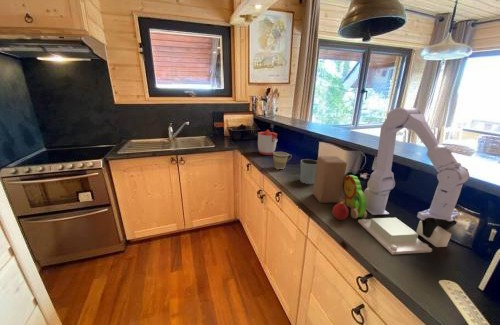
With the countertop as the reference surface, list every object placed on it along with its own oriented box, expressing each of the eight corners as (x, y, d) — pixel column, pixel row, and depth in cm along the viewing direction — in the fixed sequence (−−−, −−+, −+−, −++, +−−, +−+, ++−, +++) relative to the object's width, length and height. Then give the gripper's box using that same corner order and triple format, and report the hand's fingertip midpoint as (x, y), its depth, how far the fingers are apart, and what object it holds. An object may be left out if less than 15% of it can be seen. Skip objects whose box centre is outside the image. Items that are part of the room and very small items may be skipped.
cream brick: (415, 232, 79) (419, 220, 77) (425, 231, 79) (429, 220, 78) (436, 247, 71) (440, 234, 70) (446, 246, 72) (451, 234, 70)
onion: (342, 215, 88) (346, 198, 85) (349, 223, 82) (353, 205, 80) (329, 215, 88) (332, 198, 85) (334, 223, 82) (338, 205, 80)
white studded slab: (358, 221, 84) (360, 212, 83) (390, 220, 86) (392, 211, 84) (392, 254, 67) (395, 244, 66) (431, 251, 69) (435, 241, 68)
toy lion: (366, 220, 86) (375, 185, 81) (354, 220, 85) (361, 185, 80) (346, 201, 101) (352, 171, 96) (335, 201, 100) (340, 171, 95)
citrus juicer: (269, 157, 164) (271, 132, 158) (253, 153, 175) (254, 129, 169) (281, 154, 175) (283, 130, 169) (264, 150, 186) (266, 127, 180)
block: (340, 203, 98) (348, 162, 92) (319, 203, 97) (325, 162, 91) (331, 193, 107) (337, 155, 101) (311, 193, 107) (317, 155, 101)
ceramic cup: (275, 170, 136) (276, 156, 133) (270, 165, 146) (271, 151, 143) (293, 170, 139) (295, 155, 136) (287, 165, 149) (289, 151, 146)
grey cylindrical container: (312, 186, 115) (315, 165, 112) (295, 181, 121) (297, 161, 117) (319, 180, 123) (321, 161, 119) (302, 176, 129) (305, 157, 125)
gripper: (436, 208, 66) (423, 244, 70) (476, 206, 68) (461, 242, 72) (416, 197, 72) (406, 231, 77) (453, 196, 74) (441, 229, 79)
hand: (431, 235), depth 75 cm, fingers closed on cream brick, 4 cm apart
